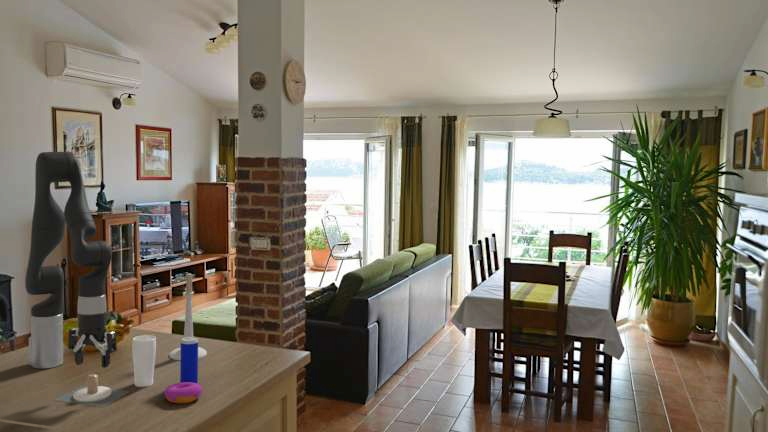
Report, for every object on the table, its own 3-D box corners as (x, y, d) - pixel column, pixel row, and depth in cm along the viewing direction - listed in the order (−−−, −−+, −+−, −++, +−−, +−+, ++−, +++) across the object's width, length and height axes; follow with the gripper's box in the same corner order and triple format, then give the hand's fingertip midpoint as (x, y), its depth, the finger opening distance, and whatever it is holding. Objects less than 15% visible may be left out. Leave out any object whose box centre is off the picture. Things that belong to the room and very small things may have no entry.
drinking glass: (147, 390, 181) (147, 342, 180) (127, 388, 183) (127, 340, 182) (160, 382, 188) (160, 336, 187) (140, 380, 189) (141, 334, 188)
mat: (53, 402, 170) (53, 400, 170) (83, 387, 182) (83, 385, 182) (102, 409, 167) (102, 407, 167) (129, 393, 179) (129, 391, 179)
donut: (204, 393, 182) (204, 378, 181) (197, 406, 172) (197, 390, 171) (169, 393, 181) (169, 378, 180) (160, 406, 170) (160, 391, 170)
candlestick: (200, 361, 210) (201, 276, 207) (163, 359, 210) (164, 275, 208) (211, 350, 223) (212, 270, 220) (177, 348, 223) (177, 269, 220)
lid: (65, 400, 171) (65, 379, 170) (89, 387, 180) (89, 368, 180) (96, 404, 168) (96, 383, 168) (118, 391, 178) (118, 371, 178)
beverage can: (201, 384, 188) (201, 337, 187) (190, 389, 183) (191, 341, 182) (187, 381, 190) (187, 335, 189) (176, 387, 185) (177, 339, 184)
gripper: (61, 311, 170) (61, 367, 171) (105, 315, 167) (105, 372, 168) (79, 305, 177) (80, 359, 179) (122, 309, 174) (122, 364, 176)
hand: (92, 365), depth 173 cm, fingers open, 8 cm apart
